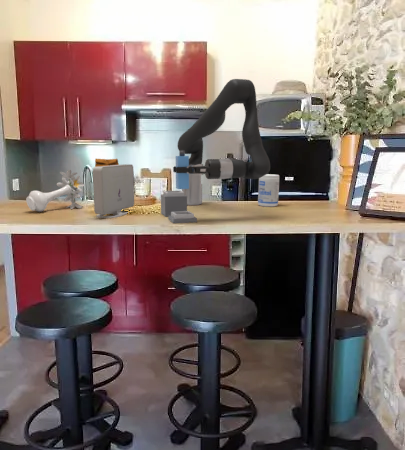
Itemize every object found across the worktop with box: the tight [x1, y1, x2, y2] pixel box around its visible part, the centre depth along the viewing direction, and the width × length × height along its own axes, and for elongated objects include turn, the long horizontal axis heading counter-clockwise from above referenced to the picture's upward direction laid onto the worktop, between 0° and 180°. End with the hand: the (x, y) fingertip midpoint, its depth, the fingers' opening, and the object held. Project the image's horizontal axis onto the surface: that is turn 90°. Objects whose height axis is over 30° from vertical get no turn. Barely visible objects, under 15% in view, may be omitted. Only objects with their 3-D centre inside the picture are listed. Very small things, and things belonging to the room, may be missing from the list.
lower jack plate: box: [167, 210, 198, 224], centre depth 163 cm, size 9×9×3 cm
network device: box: [92, 163, 135, 219], centre depth 176 cm, size 26×9×20 cm, turn 161°
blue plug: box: [175, 150, 190, 190], centre depth 160 cm, size 4×4×14 cm
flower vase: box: [25, 169, 85, 213], centre depth 189 cm, size 13×18×25 cm
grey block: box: [160, 190, 188, 218], centre depth 177 cm, size 9×9×10 cm
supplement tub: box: [257, 173, 280, 208], centre depth 204 cm, size 10×10×15 cm
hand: (175, 169), depth 159 cm, fingers closed on blue plug, 4 cm apart
